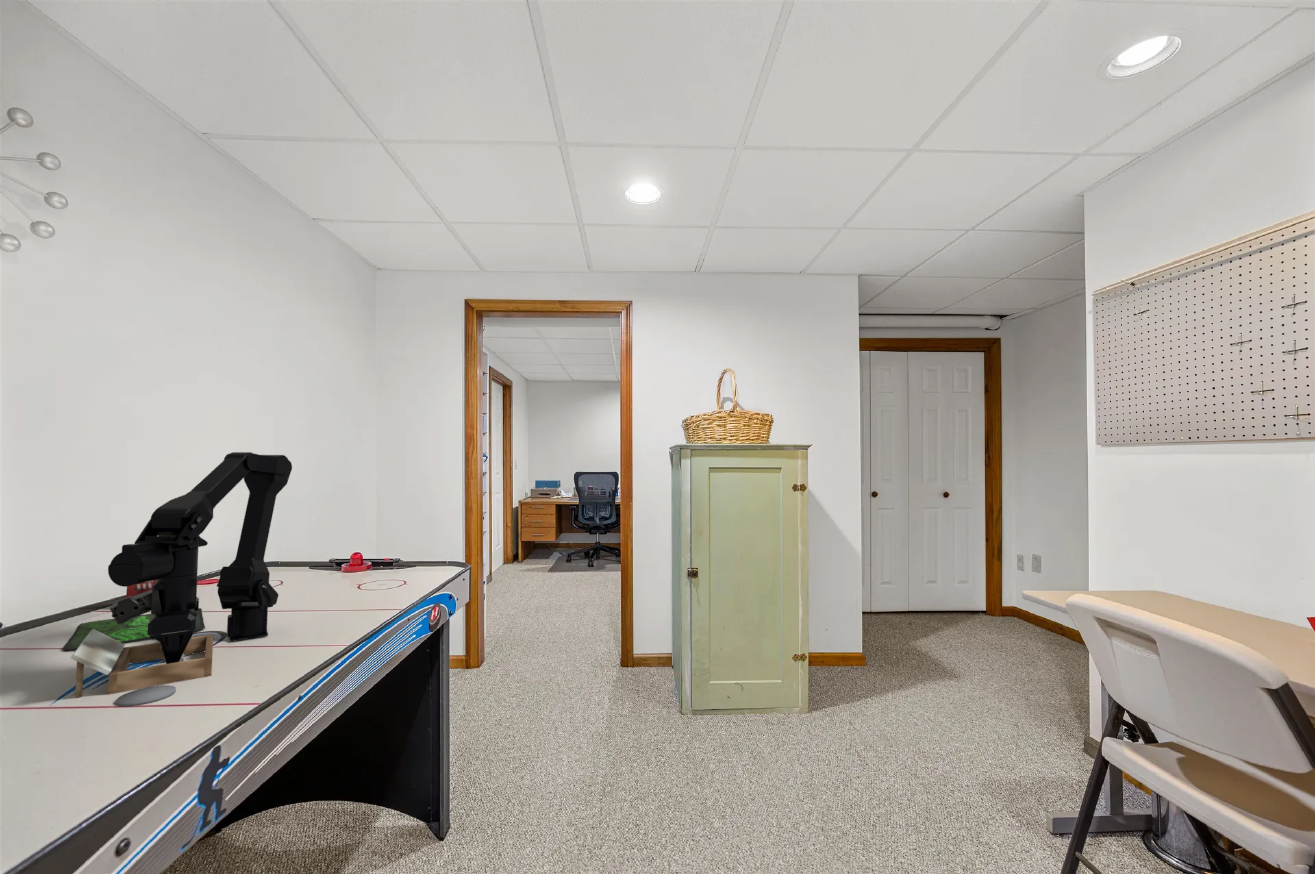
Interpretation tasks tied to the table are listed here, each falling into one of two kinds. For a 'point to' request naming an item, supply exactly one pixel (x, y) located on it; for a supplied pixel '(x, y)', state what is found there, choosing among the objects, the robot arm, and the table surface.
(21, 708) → the table surface
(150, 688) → the felt pad
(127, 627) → the mouse mat
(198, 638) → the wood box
